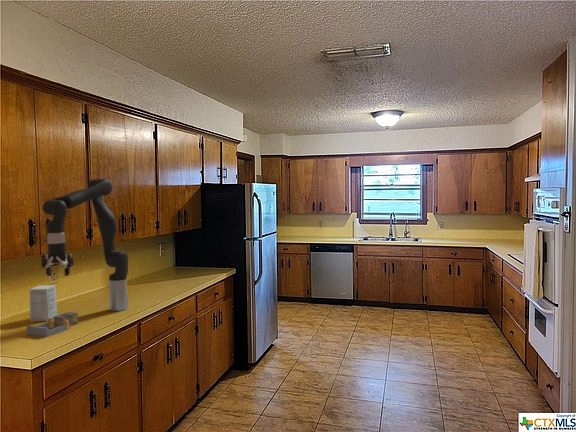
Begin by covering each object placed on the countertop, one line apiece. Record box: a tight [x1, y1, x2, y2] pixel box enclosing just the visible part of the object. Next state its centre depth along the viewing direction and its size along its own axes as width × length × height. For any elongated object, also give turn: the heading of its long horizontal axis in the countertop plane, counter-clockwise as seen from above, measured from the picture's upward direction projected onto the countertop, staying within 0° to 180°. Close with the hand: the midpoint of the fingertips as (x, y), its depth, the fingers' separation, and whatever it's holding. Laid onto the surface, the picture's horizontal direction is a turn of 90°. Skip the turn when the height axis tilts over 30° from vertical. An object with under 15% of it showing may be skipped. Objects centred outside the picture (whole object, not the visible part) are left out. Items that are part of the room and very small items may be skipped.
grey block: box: [53, 311, 79, 329], centre depth 211 cm, size 9×6×6 cm, turn 161°
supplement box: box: [28, 285, 58, 322], centre depth 223 cm, size 10×9×17 cm
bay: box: [26, 318, 70, 338], centre depth 202 cm, size 12×12×4 cm
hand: (58, 275), depth 203 cm, fingers open, 8 cm apart
